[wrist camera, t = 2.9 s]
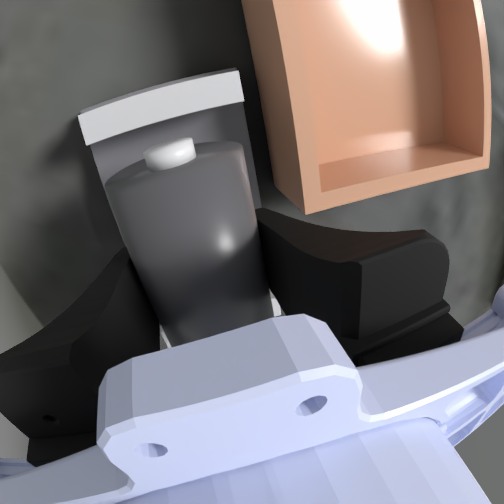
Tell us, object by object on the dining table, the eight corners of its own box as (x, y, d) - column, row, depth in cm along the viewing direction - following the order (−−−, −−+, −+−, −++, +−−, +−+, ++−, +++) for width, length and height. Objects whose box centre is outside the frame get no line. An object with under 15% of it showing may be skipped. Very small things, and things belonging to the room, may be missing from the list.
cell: (261, 302, 14) (293, 367, 11) (175, 327, 14) (186, 399, 10) (224, 121, 10) (257, 137, 7) (110, 153, 10) (84, 187, 6)
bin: (445, 150, 18) (488, 167, 15) (274, 186, 17) (305, 214, 13) (427, -27, 12) (472, -34, 8) (230, -47, 10) (253, -82, 7)
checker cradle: (270, 278, 19) (290, 314, 17) (158, 311, 18) (160, 353, 16) (231, 68, 13) (250, 63, 10) (85, 109, 12) (64, 115, 9)
